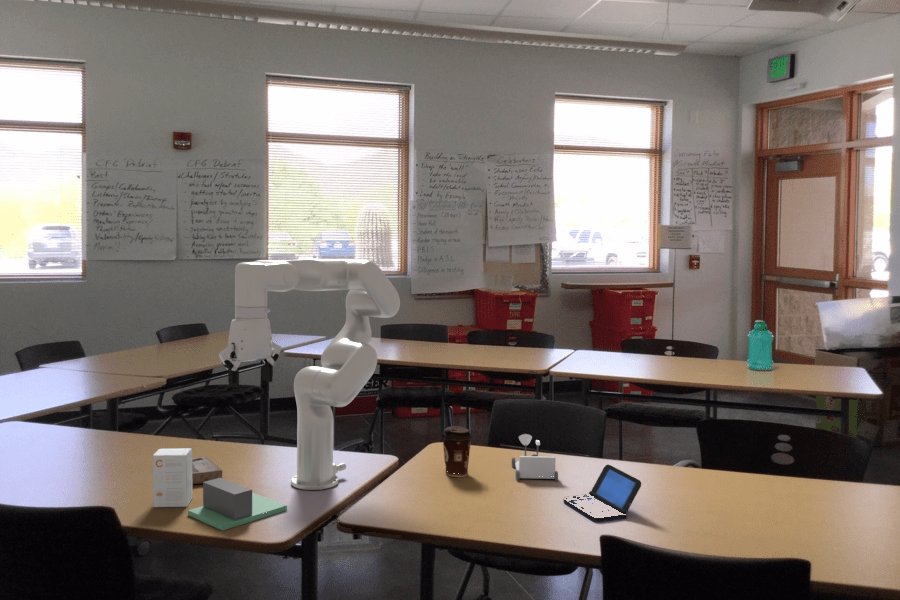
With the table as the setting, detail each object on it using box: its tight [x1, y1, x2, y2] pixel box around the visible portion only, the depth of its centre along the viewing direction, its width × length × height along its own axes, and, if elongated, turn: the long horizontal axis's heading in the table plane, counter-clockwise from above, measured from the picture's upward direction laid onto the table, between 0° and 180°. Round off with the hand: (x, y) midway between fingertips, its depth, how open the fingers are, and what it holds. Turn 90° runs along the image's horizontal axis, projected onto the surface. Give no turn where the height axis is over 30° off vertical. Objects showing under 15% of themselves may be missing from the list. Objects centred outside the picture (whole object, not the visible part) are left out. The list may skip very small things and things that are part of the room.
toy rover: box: [511, 433, 559, 482], centre depth 223 cm, size 18×10×12 cm
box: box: [192, 456, 223, 486], centre depth 213 cm, size 11×17×3 cm, turn 31°
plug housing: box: [202, 477, 253, 520], centre depth 183 cm, size 5×13×6 cm, turn 50°
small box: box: [152, 447, 194, 508], centre depth 190 cm, size 8×6×13 cm
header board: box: [187, 491, 288, 532], centre depth 185 cm, size 18×14×4 cm
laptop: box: [562, 464, 642, 523], centre depth 194 cm, size 16×13×9 cm
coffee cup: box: [441, 425, 473, 478], centre depth 219 cm, size 9×8×13 cm
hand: (250, 383), depth 188 cm, fingers open, 9 cm apart
